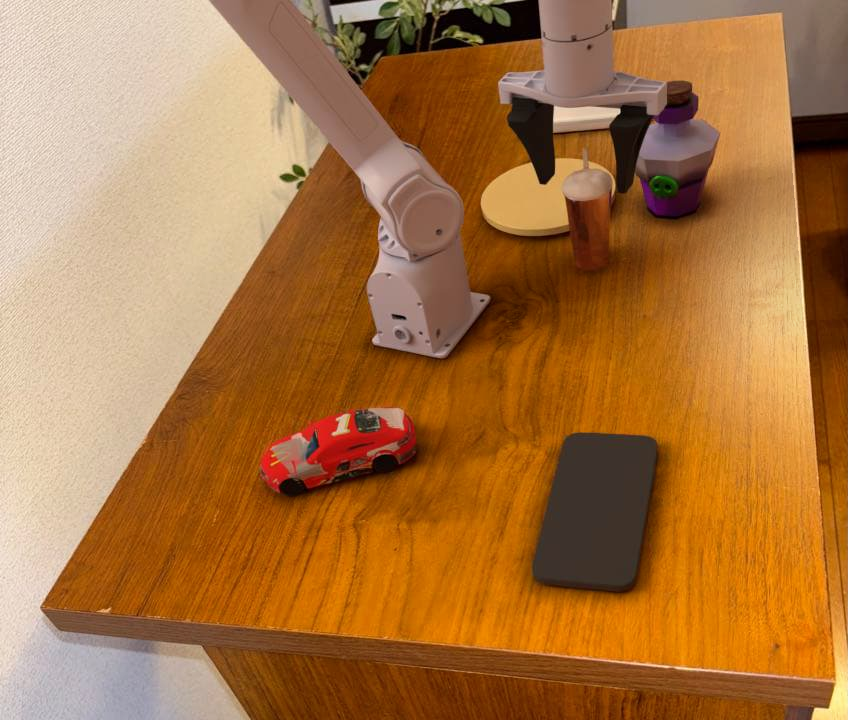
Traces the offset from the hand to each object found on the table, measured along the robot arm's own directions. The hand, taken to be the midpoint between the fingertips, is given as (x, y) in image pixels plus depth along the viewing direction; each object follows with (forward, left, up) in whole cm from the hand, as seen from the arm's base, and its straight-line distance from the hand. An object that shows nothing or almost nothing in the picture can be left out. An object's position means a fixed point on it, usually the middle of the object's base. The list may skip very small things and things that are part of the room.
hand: (585, 183), depth 89 cm
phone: (-30, -14, -8) cm, 34 cm away
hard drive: (+28, +12, -8) cm, 31 cm away
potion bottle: (+11, -4, -8) cm, 15 cm away
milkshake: (0, 0, -8) cm, 8 cm away
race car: (-32, +8, -8) cm, 35 cm away
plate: (+9, +8, -8) cm, 14 cm away
